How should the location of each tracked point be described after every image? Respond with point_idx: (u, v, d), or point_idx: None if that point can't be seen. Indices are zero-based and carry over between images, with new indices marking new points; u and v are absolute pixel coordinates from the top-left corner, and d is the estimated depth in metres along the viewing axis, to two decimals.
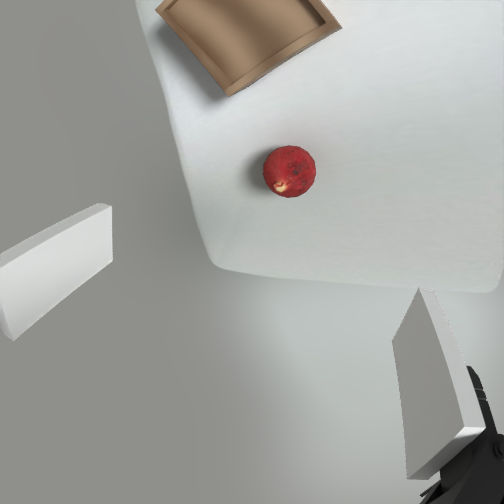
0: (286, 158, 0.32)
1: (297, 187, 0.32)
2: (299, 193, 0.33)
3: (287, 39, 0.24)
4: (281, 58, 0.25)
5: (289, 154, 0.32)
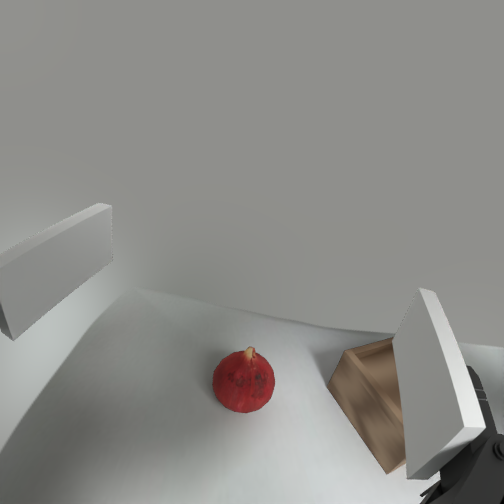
0: (270, 376, 0.27)
1: (240, 372, 0.26)
2: (226, 374, 0.26)
3: None
4: (382, 396, 0.25)
5: (272, 383, 0.27)
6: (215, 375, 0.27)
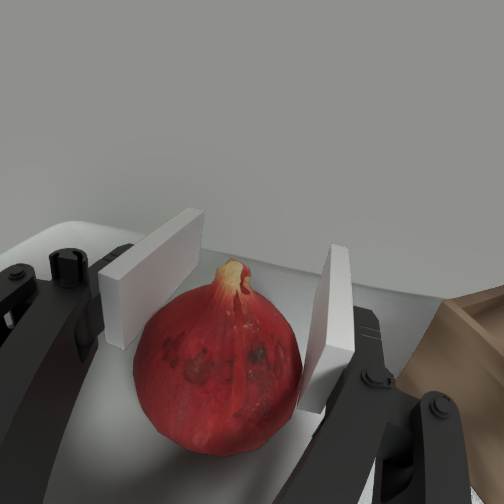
0: (294, 358, 0.09)
1: (199, 336, 0.08)
2: (158, 343, 0.08)
3: None
4: None
5: (297, 377, 0.09)
6: None
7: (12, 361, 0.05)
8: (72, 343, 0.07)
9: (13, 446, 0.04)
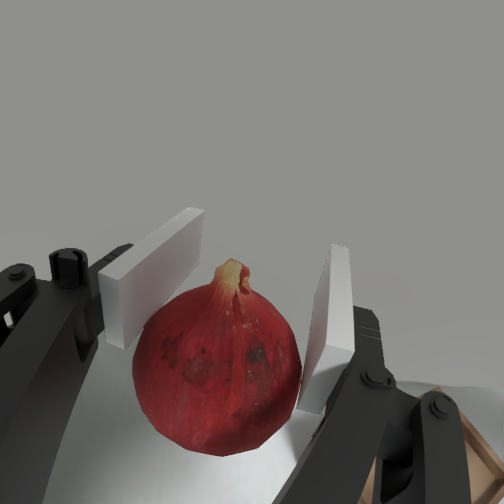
0: (293, 358, 0.09)
1: (198, 335, 0.08)
2: (157, 343, 0.08)
3: None
4: None
5: (296, 377, 0.09)
6: None
7: (12, 361, 0.05)
8: (72, 343, 0.07)
9: (13, 446, 0.04)
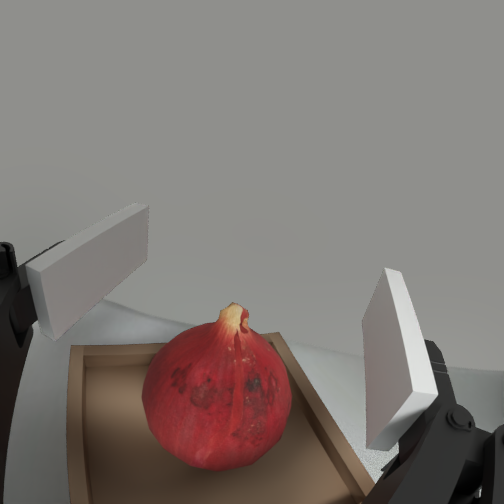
0: (284, 387, 0.10)
1: (204, 367, 0.09)
2: (168, 372, 0.10)
3: (105, 484, 0.10)
4: (69, 448, 0.10)
5: (286, 403, 0.10)
6: (147, 375, 0.11)
7: None
8: (8, 328, 0.06)
9: None
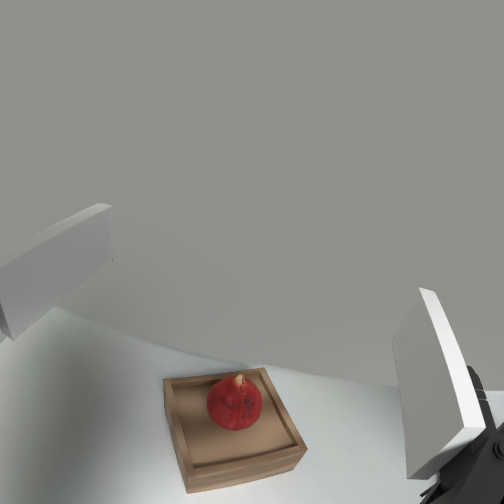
0: (258, 400, 0.29)
1: (231, 396, 0.28)
2: (218, 398, 0.28)
3: (190, 439, 0.29)
4: (175, 425, 0.29)
5: (260, 405, 0.29)
6: (209, 398, 0.29)
7: None
8: None
9: None
